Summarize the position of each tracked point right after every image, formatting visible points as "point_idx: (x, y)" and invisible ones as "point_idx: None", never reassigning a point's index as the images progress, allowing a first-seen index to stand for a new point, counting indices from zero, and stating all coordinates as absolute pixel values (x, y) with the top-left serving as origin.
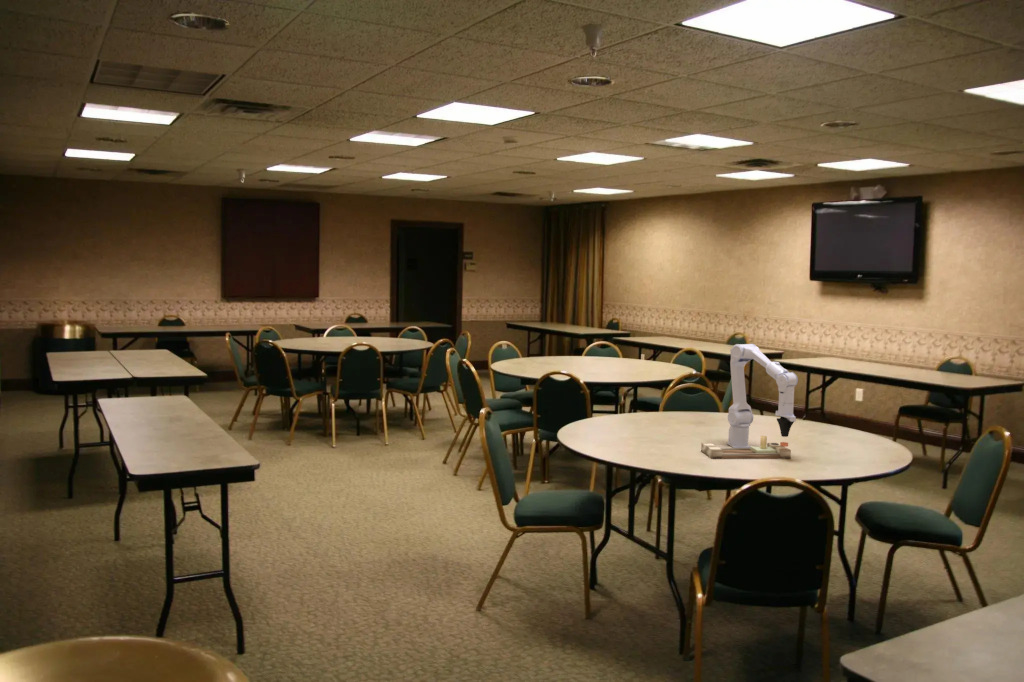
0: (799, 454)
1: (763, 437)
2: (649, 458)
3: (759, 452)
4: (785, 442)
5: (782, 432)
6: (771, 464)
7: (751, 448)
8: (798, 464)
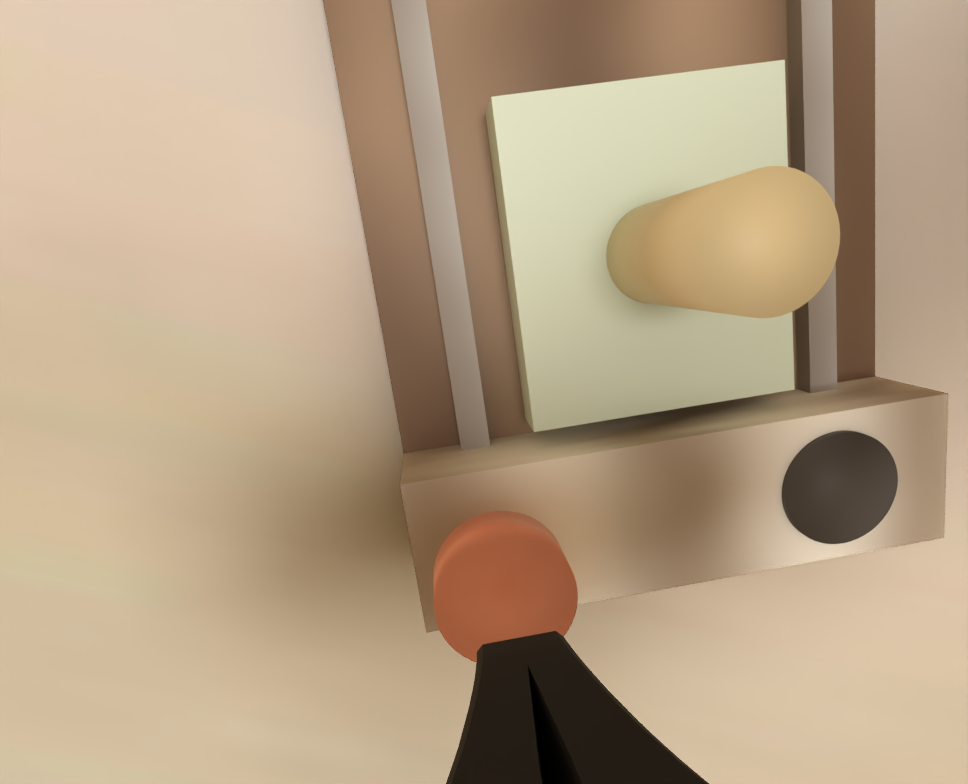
0: (702, 714)
1: (697, 217)
2: None
3: (491, 151)
4: (541, 629)
5: (473, 708)
6: (33, 225)
7: (728, 73)
8: (136, 590)
